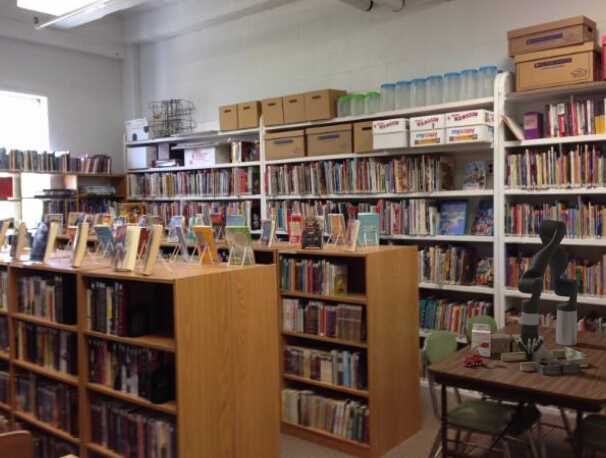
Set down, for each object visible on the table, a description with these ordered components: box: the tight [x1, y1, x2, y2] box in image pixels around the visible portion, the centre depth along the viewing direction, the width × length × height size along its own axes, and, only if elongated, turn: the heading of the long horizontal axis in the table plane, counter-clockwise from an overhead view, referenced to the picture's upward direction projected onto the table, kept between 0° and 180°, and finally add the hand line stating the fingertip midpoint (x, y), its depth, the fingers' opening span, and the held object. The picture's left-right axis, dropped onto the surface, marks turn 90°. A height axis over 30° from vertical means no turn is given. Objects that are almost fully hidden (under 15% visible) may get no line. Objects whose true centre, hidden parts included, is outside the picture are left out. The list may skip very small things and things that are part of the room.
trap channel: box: [500, 345, 589, 376], centre depth 262 cm, size 24×32×5 cm
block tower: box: [490, 333, 545, 354], centre depth 288 cm, size 8×8×29 cm
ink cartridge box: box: [471, 323, 492, 358], centre depth 281 cm, size 9×5×15 cm, turn 71°
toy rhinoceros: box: [532, 344, 558, 364], centre depth 266 cm, size 7×12×8 cm, turn 69°
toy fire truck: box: [461, 342, 489, 368], centre depth 266 cm, size 3×14×10 cm, turn 117°
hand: (529, 361), depth 264 cm, fingers closed
